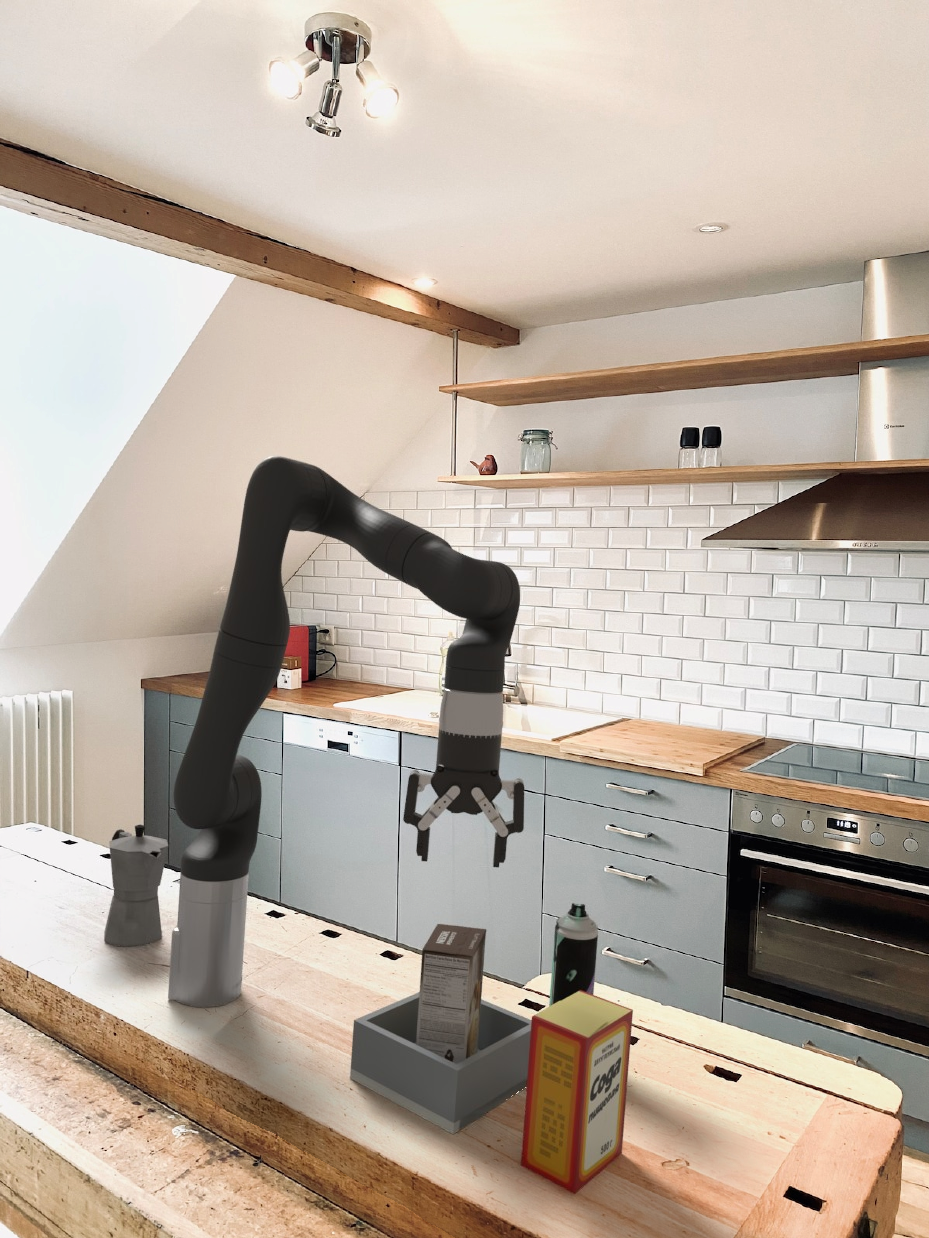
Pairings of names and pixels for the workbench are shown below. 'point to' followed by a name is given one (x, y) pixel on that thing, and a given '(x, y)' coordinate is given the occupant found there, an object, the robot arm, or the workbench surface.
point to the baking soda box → (576, 1089)
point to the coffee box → (451, 992)
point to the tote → (441, 1064)
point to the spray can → (573, 954)
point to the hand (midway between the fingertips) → (460, 862)
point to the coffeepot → (135, 888)
